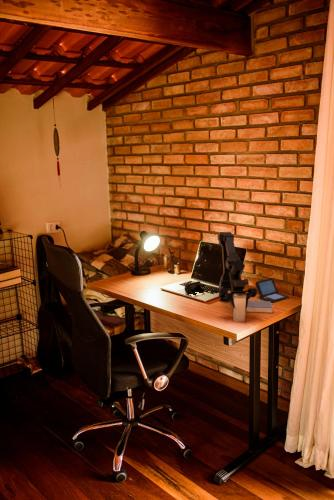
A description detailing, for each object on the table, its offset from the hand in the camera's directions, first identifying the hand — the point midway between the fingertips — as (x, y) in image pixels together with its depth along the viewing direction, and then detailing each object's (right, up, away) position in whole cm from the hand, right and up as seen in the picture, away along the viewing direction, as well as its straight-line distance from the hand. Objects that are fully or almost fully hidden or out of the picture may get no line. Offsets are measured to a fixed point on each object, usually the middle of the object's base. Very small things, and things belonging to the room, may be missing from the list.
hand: (240, 308), depth 231 cm
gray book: (+12, -3, +18) cm, 22 cm away
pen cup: (0, -6, +3) cm, 7 cm away
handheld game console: (+24, +1, +38) cm, 45 cm away
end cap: (-20, +3, +43) cm, 47 cm away
